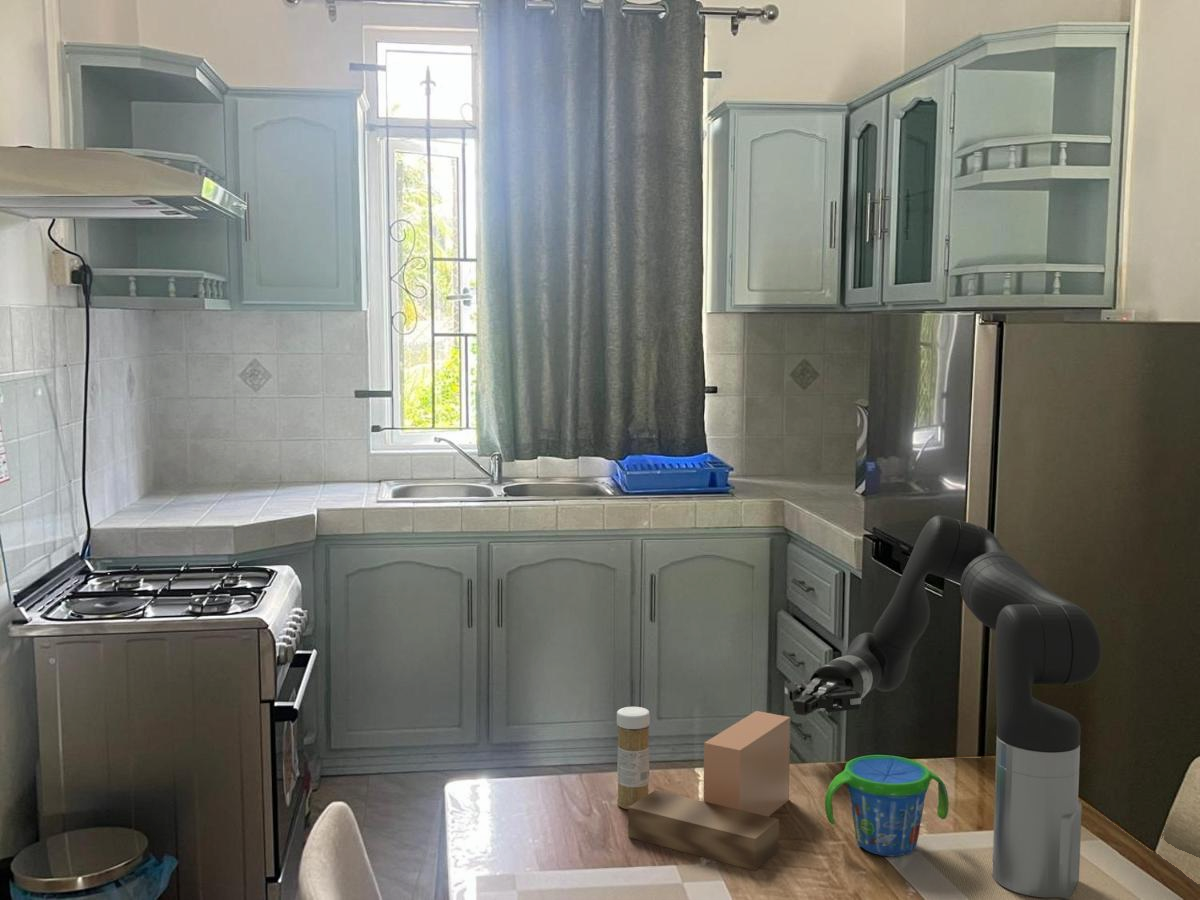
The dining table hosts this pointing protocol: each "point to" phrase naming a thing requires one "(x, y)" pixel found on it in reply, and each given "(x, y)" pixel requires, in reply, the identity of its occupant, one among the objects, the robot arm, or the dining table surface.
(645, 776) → the sprinkles bottle
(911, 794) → the snack cup
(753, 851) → the brown wooden bar
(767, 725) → the block
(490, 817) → the dining table surface
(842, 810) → the dining table surface
